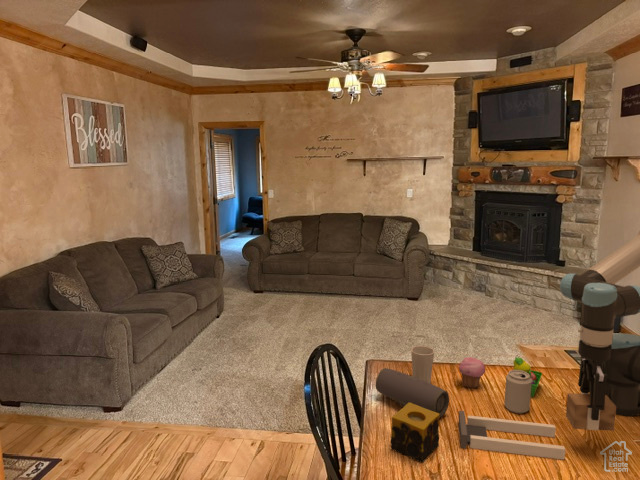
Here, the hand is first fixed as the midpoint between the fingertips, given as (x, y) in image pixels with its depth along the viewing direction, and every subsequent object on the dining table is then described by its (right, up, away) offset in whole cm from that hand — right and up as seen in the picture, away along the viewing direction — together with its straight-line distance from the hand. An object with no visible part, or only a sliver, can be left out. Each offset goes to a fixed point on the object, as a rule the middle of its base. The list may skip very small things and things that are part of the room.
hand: (588, 421), depth 131 cm
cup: (-37, -1, +41) cm, 55 cm away
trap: (-28, -7, +8) cm, 30 cm away
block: (0, 0, 0) cm, 1 cm away
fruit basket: (-2, -2, +35) cm, 35 cm away
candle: (-47, -8, +3) cm, 47 cm away
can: (-10, -5, +23) cm, 25 cm away
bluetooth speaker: (-44, -5, +24) cm, 50 cm away
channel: (-18, -8, +5) cm, 20 cm away
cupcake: (-20, -2, +38) cm, 43 cm away
